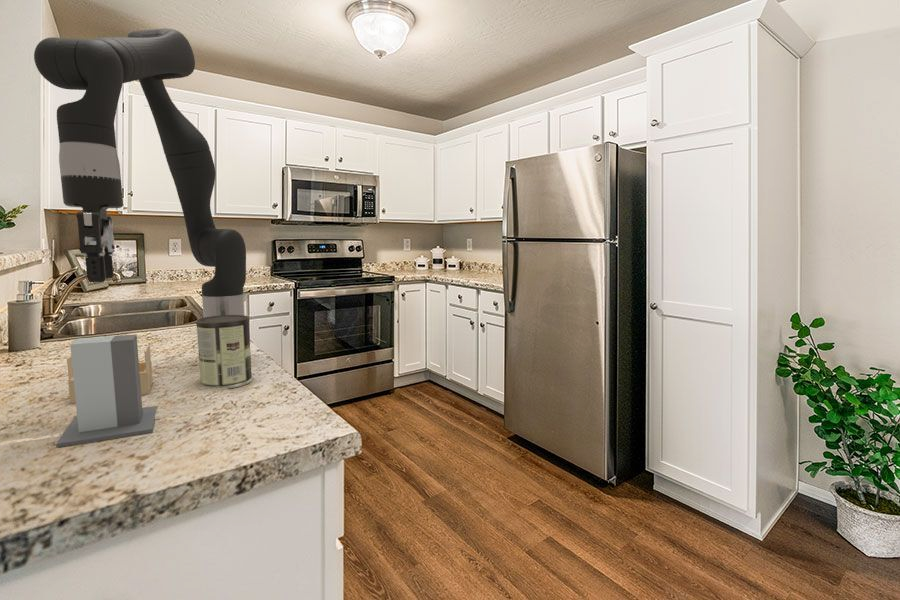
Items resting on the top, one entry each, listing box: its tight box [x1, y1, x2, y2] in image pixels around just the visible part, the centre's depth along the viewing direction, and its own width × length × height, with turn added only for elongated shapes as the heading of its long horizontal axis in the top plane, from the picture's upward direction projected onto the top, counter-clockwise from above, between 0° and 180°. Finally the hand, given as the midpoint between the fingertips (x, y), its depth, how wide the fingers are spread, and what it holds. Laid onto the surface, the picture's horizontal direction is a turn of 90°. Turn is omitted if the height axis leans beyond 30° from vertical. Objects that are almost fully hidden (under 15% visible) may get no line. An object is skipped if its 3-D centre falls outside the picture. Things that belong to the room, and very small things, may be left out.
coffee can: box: [195, 314, 253, 389], centre depth 101 cm, size 10×10×14 cm
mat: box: [55, 405, 158, 448], centre depth 77 cm, size 12×12×1 cm
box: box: [70, 333, 143, 432], centre depth 76 cm, size 8×5×14 cm, turn 118°
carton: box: [66, 343, 154, 405], centre depth 92 cm, size 12×9×9 cm
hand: (101, 279), depth 75 cm, fingers open, 8 cm apart
